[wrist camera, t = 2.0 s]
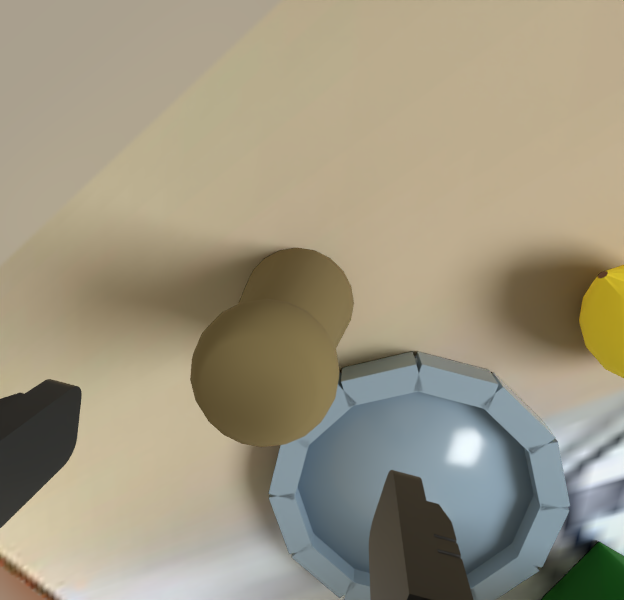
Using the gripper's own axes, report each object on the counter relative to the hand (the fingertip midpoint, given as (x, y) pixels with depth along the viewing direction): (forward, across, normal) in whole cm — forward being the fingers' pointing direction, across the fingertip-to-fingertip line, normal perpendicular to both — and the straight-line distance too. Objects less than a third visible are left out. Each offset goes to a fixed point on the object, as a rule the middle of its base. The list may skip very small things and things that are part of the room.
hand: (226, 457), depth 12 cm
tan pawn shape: (+14, 0, 0) cm, 14 cm away
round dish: (+14, -9, +9) cm, 19 cm away
